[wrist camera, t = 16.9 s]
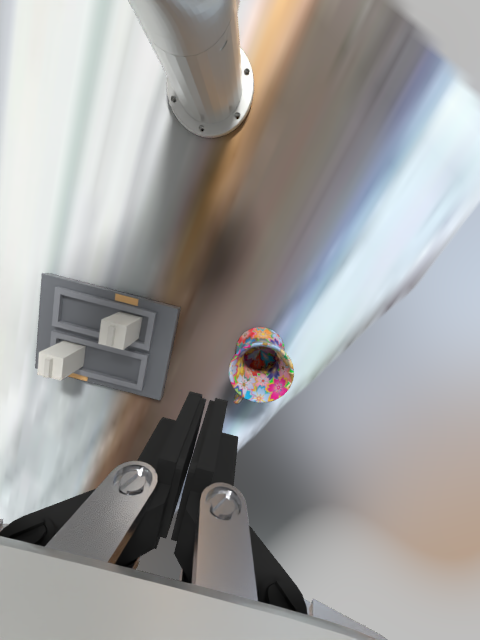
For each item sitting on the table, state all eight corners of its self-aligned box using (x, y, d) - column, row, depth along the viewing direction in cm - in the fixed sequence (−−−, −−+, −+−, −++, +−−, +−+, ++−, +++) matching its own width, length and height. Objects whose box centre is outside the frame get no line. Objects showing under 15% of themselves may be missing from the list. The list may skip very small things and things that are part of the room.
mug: (252, 313, 48) (251, 330, 38) (296, 341, 49) (307, 365, 39) (216, 366, 51) (207, 395, 41) (259, 392, 52) (259, 427, 42)
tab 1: (64, 340, 50) (35, 353, 43) (85, 346, 50) (59, 360, 43) (62, 360, 51) (33, 376, 44) (83, 365, 51) (57, 382, 44)
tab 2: (120, 311, 48) (98, 320, 42) (142, 317, 48) (124, 327, 42) (116, 332, 49) (95, 345, 43) (138, 338, 49) (120, 351, 43)
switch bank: (48, 272, 49) (38, 273, 47) (180, 307, 49) (177, 310, 47) (41, 364, 53) (31, 369, 51) (162, 396, 53) (158, 402, 51)
